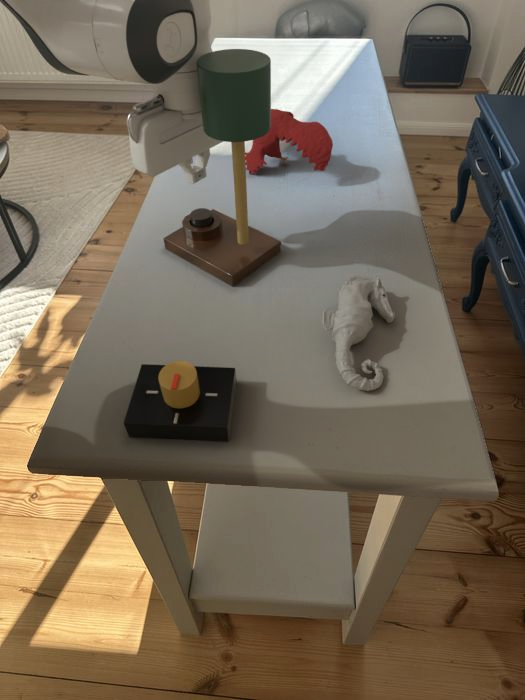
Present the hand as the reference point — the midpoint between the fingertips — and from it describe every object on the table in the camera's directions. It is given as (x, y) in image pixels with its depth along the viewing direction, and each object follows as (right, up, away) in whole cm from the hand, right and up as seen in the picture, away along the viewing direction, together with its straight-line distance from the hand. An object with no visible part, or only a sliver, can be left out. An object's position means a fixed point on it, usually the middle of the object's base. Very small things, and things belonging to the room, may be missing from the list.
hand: (196, 179), depth 76 cm
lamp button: (0, -5, +6) cm, 8 cm away
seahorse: (+24, -25, -8) cm, 36 cm away
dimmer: (+1, -34, -16) cm, 38 cm away
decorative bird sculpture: (+12, +13, +27) cm, 32 cm away
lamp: (+7, -10, +1) cm, 12 cm away
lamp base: (+4, -10, +6) cm, 12 cm away
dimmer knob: (+1, -32, -19) cm, 37 cm away
